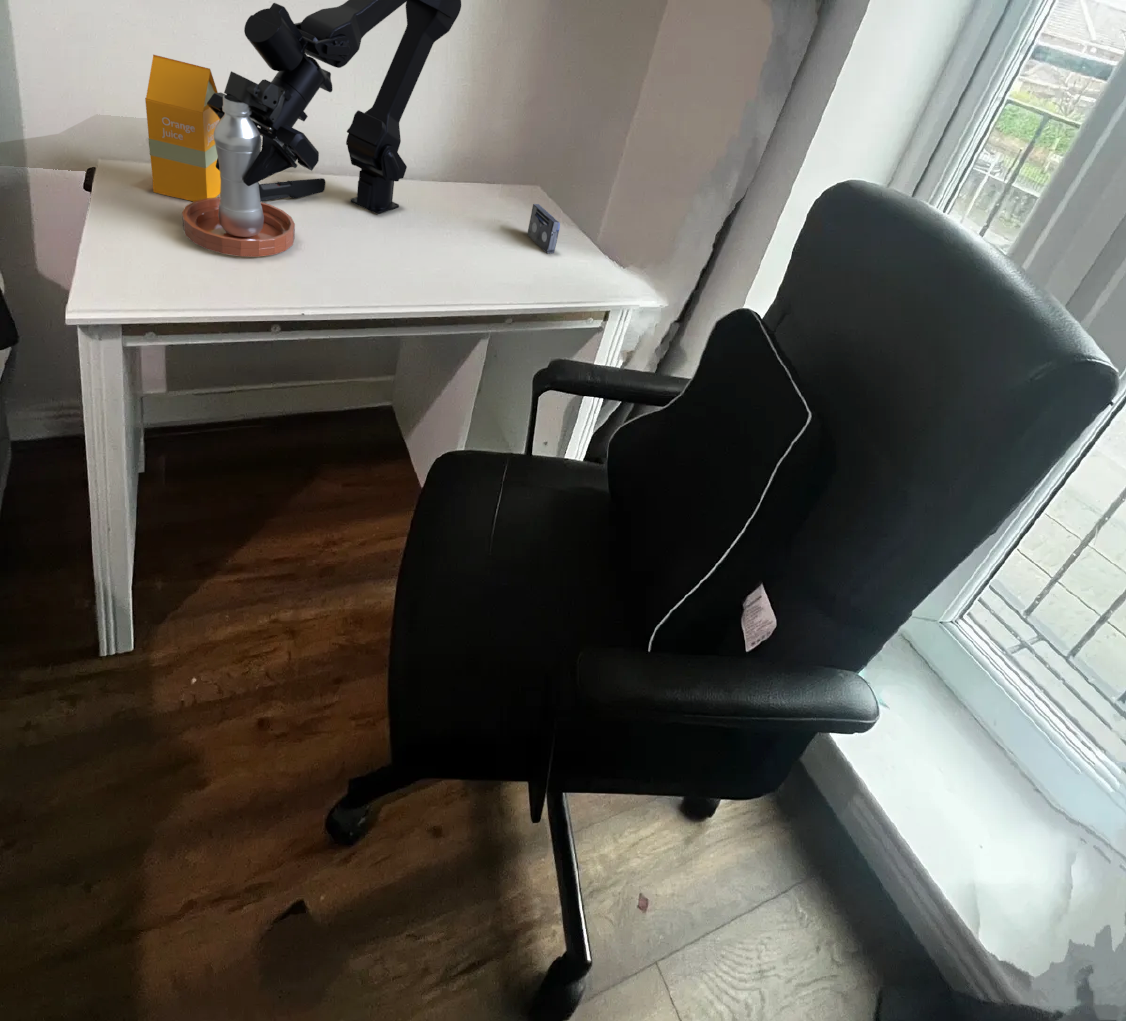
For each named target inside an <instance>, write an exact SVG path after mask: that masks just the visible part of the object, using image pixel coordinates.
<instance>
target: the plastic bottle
mask: <svg viewBox="0 0 1126 1021" xmlns="http://www.w3.org/2000/svg"><path fill="white" fill-rule="evenodd" d="M222 110H223V112H225V114H224V116H223V117H222V118H221V119H220V121H219V122H218V124H217V125H216V127H215V130H214V141H215V146H216V151H217V156H218V160H219V169H220V178H221V189H220V194H219V197H220V203H219V211H218V217H219V221H220V225H221V226H222V228H223V229H224V230H225V231H226V232H227V233H229V234H231V235H235V236H241V237H250V236H255V235H257V234H259V232H260V231H261V230H262V228H263V223H264V215H263V210H262V206H261V202H262V201H260V192H259V184H260V183H259V182H260V181H259V182H257V183H255V184H253V185H251V186H247V185H246V184H245V183H244V182H243V181H244V178H245V176H246V174H247V172H248V171H249V169H250V168H251V166H252V164H253V163H254V161H255V160H256V158H257V156H258V155H259V153H260V152H261V150H262V136H261V135H260V133H259V131H258V129H257V128H256V126H255V124H254V123H253V121H252V120H251V119H250V116H249V115H251V114H252V110H251V106H249V105H247V104H245V103H243V102H241V101H239V100H238V99H237V97H235V96H232V95H227V94H225V95H224V96H223V106H222ZM258 183H259V184H258Z"/></svg>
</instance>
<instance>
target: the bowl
mask: <svg viewBox="0 0 1126 1021" xmlns="http://www.w3.org/2000/svg"><path fill="white" fill-rule="evenodd" d="M219 203H220V196H219V197H218V196H217V197H215V198H205V199H201V200H197V201H194V202H193V201H191V203H188V204H187V205H185V206H184V208H183V210H182V212H181V220H182V230H183V232H184V235H185V237H186V238H188V239H189V240H190V241H191V242H192V243H193V244H196V245H197V246H199V247H201V248H203V249H206V250H209V251H213V252H216V253H218V254H223V255H229V256H236V257H251V258H252V257H256V258H257V257H264V256H273V255H277V254H280V253H283V252H286V251H288V250H289V249H290V248H291V247H292V246H293V245H294V242H295V238H296V223H295V221H294V219H293V218H292V216H291V215H289V213H287V212H286V211H284V210H283V209H280V208H279V207H276V206H275V205H272V204H269V203H265V202H264V201H261V206H262V210H263V215H264V223H263V228H262V230H261V231H260V232H259V234H257V235H255V236H250V237H241V236H235V235H231V234H229V233H227V232H226V231H225V230H224V229H223V228H222V226H221V225H220V221H219V217H218V211H219Z"/></svg>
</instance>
